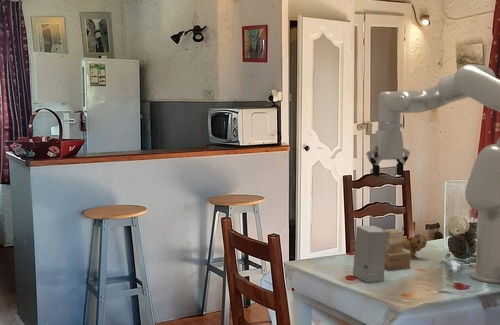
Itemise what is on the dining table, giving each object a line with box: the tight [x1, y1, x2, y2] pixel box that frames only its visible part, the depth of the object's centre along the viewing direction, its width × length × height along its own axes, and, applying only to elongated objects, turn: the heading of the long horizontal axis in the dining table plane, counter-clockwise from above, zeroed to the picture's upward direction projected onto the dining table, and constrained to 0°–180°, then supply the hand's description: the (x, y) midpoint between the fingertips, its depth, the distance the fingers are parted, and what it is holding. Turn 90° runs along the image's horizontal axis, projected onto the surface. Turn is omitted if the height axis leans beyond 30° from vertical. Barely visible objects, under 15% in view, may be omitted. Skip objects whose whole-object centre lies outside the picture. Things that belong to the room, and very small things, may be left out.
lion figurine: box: [403, 233, 428, 261], centre depth 210 cm, size 15×5×9 cm, turn 51°
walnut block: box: [384, 250, 411, 272], centre depth 198 cm, size 8×8×5 cm
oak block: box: [384, 228, 404, 254], centre depth 197 cm, size 4×4×7 cm
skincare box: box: [352, 225, 388, 283], centre depth 184 cm, size 8×7×16 cm
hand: (387, 175), depth 211 cm, fingers open, 9 cm apart
